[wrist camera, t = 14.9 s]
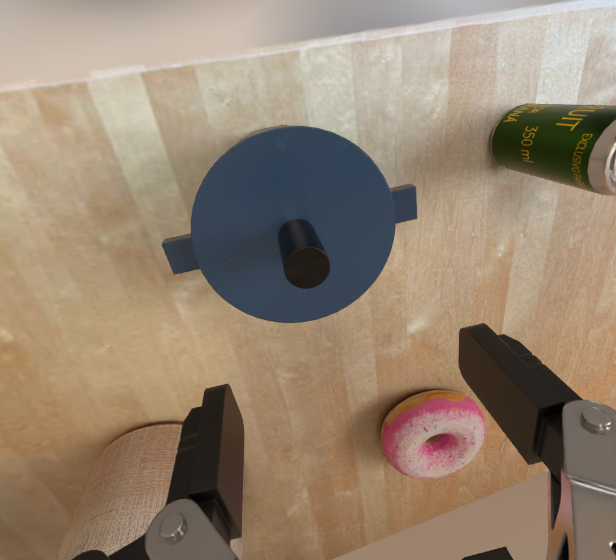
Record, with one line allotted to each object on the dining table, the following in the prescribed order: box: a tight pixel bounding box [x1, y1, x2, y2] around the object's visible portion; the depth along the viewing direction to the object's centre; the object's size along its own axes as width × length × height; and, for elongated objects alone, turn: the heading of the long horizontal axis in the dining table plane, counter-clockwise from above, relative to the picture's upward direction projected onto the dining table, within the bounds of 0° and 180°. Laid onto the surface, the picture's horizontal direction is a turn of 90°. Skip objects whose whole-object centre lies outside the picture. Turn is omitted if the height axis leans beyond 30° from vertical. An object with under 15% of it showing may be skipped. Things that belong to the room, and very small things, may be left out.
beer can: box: [490, 104, 616, 196], centre depth 27 cm, size 5×5×12 cm
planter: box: [56, 424, 244, 560], centre depth 38 cm, size 18×18×16 cm
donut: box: [381, 390, 486, 479], centre depth 46 cm, size 14×13×5 cm
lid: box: [191, 126, 395, 323], centre depth 22 cm, size 14×14×6 cm
